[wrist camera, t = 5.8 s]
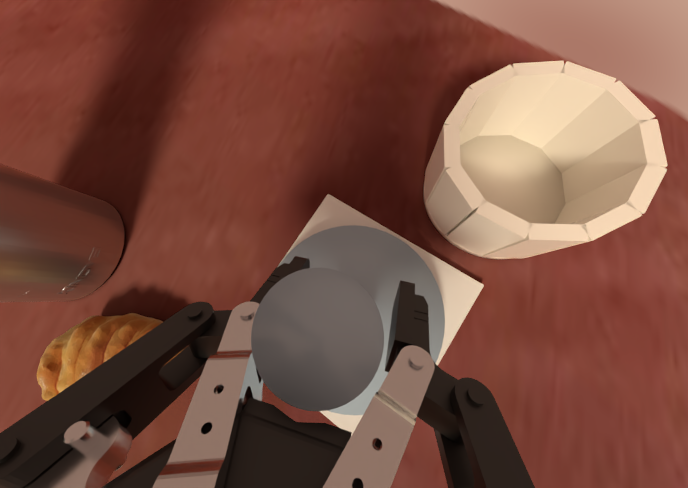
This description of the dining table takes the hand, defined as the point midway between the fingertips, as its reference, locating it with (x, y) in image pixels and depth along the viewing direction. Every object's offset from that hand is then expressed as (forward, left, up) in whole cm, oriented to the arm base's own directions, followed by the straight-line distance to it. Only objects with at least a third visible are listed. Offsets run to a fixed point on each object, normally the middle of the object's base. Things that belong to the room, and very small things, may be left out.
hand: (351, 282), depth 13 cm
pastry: (-12, -14, -6) cm, 19 cm away
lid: (+1, -2, -5) cm, 5 cm away
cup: (+5, +11, -5) cm, 13 cm away
